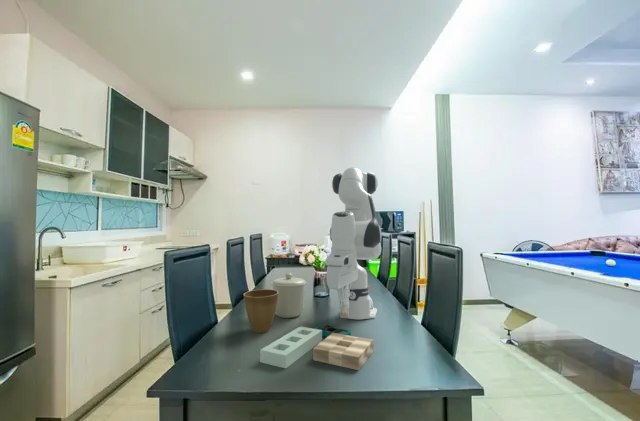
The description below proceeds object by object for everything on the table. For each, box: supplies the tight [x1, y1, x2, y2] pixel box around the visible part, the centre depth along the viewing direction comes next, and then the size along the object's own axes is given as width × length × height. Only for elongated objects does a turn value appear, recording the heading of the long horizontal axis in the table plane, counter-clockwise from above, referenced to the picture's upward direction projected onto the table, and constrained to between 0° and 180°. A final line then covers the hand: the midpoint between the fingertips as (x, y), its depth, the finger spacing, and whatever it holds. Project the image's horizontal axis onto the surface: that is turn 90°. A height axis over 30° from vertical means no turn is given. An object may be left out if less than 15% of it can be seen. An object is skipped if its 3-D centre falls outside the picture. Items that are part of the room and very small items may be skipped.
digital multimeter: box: [314, 323, 352, 338], centre depth 125 cm, size 7×15×3 cm, turn 48°
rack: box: [259, 326, 323, 369], centre depth 109 cm, size 26×10×4 cm, turn 154°
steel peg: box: [339, 284, 349, 319], centre depth 106 cm, size 3×3×12 cm
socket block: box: [312, 333, 375, 371], centre depth 105 cm, size 16×16×4 cm
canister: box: [270, 272, 307, 319], centre depth 153 cm, size 18×18×21 cm
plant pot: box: [243, 288, 278, 334], centre depth 131 cm, size 15×15×16 cm
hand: (344, 297), depth 106 cm, fingers closed on steel peg, 3 cm apart
